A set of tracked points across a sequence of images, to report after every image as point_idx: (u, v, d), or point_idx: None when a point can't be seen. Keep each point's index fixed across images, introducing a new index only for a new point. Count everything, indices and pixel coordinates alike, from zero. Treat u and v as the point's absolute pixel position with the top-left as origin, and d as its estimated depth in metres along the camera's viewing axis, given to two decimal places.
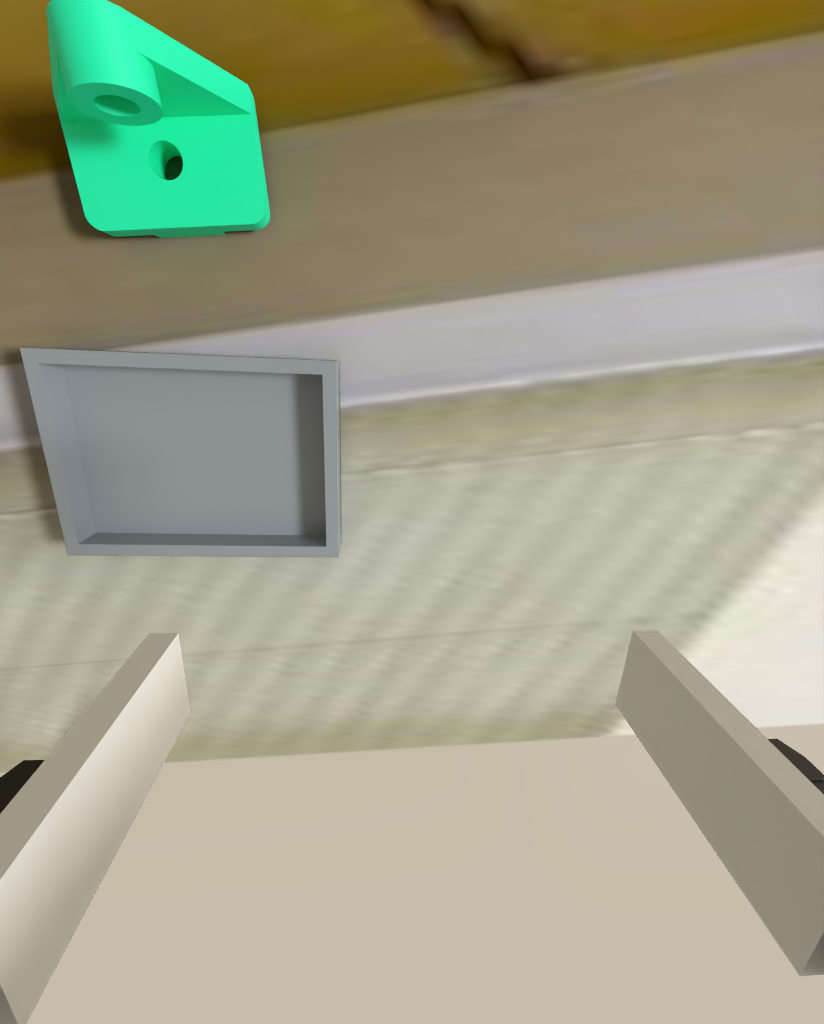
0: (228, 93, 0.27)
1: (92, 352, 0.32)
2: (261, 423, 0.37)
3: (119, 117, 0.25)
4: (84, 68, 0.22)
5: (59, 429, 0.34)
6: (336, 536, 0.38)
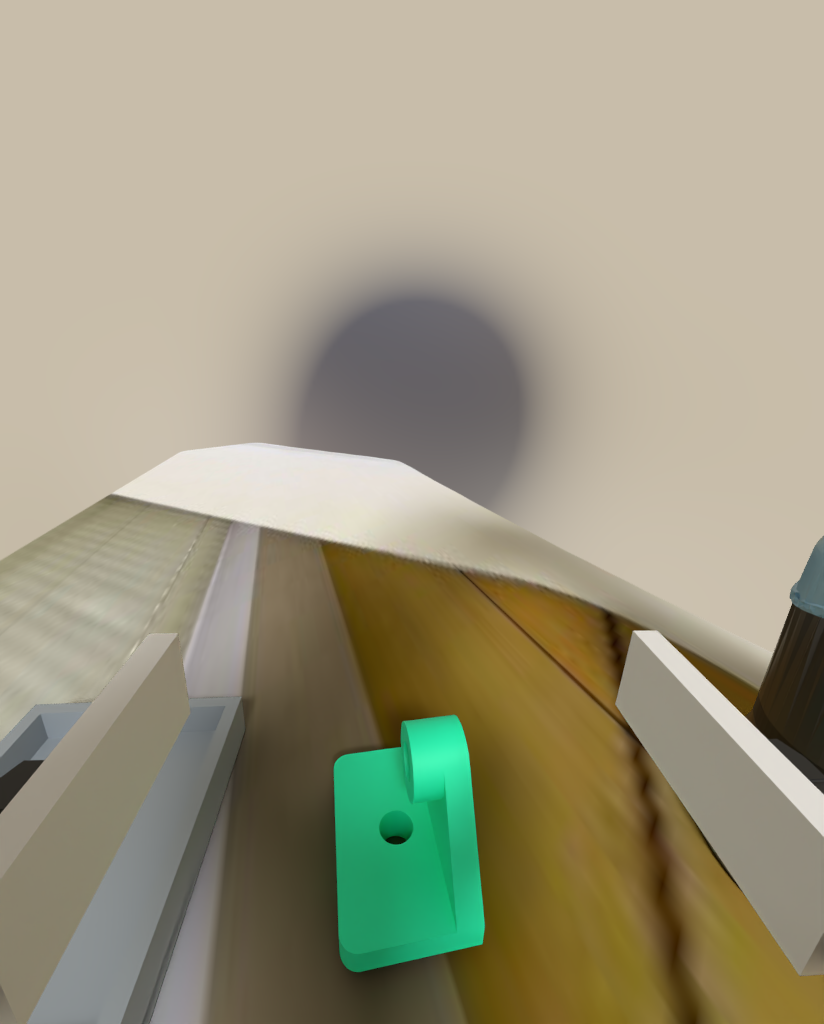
0: (461, 892, 0.24)
1: (222, 744, 0.33)
2: (61, 960, 0.23)
3: (404, 768, 0.28)
4: (416, 728, 0.26)
5: None
6: None
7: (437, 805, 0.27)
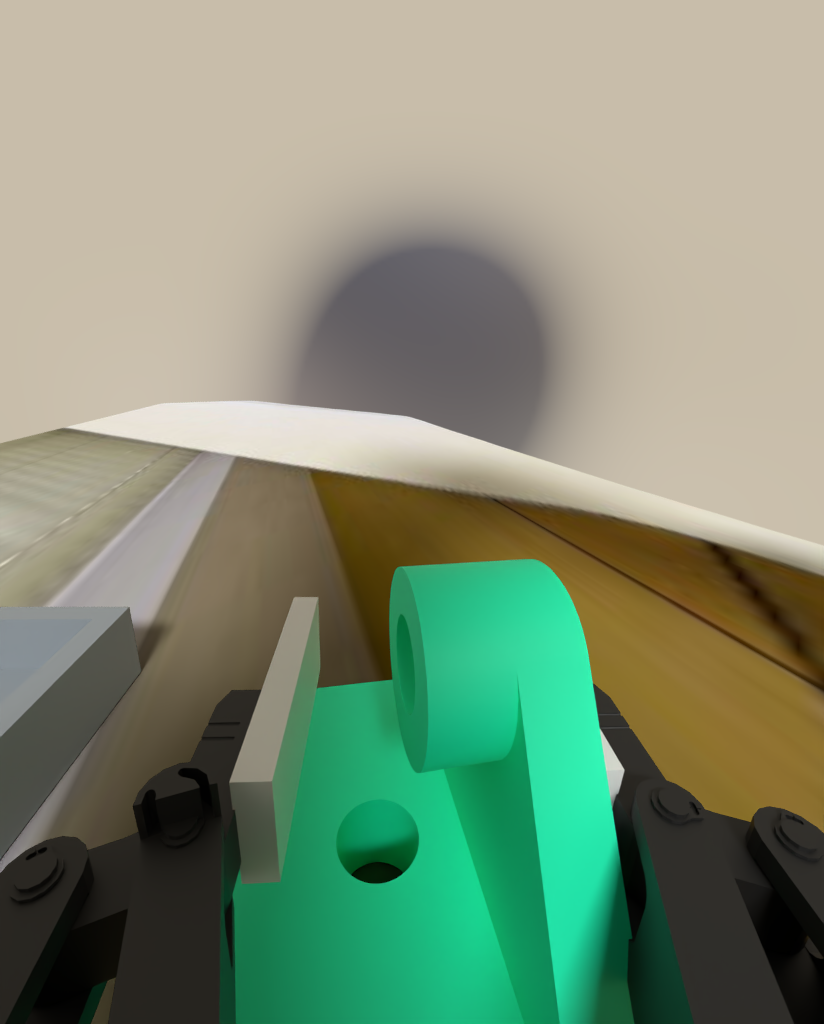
0: None
1: (53, 680, 0.16)
2: None
3: (398, 689, 0.11)
4: (430, 570, 0.10)
5: None
6: None
7: (484, 780, 0.10)
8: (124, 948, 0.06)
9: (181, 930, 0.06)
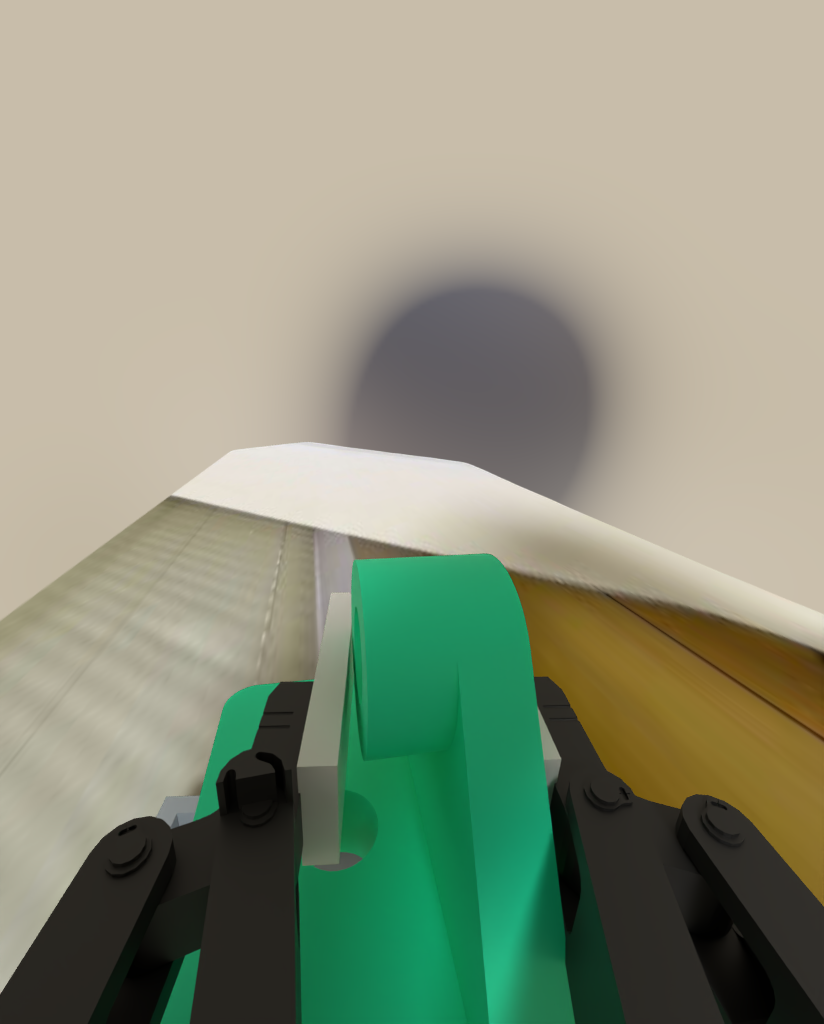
0: None
1: None
2: None
3: (356, 681, 0.11)
4: (382, 563, 0.10)
5: None
6: None
7: (436, 770, 0.10)
8: (208, 916, 0.06)
9: (258, 906, 0.06)
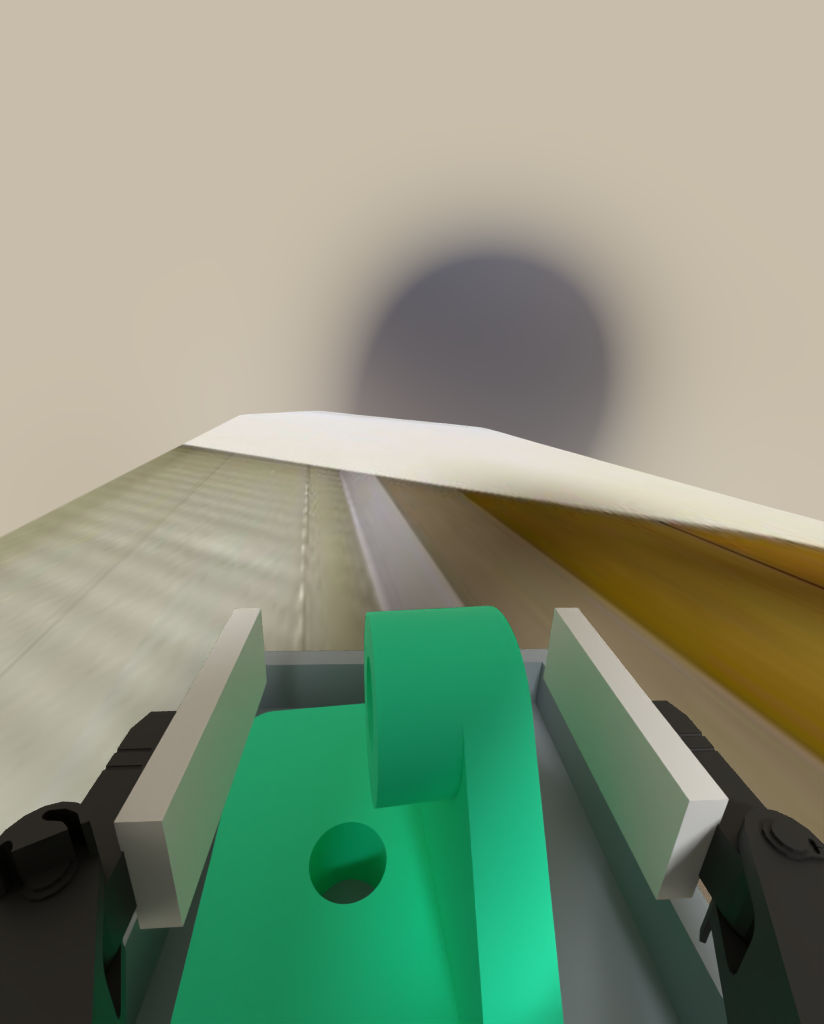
0: None
1: None
2: None
3: (367, 724, 0.12)
4: (393, 619, 0.11)
5: None
6: None
7: (442, 814, 0.11)
8: None
9: (45, 991, 0.05)
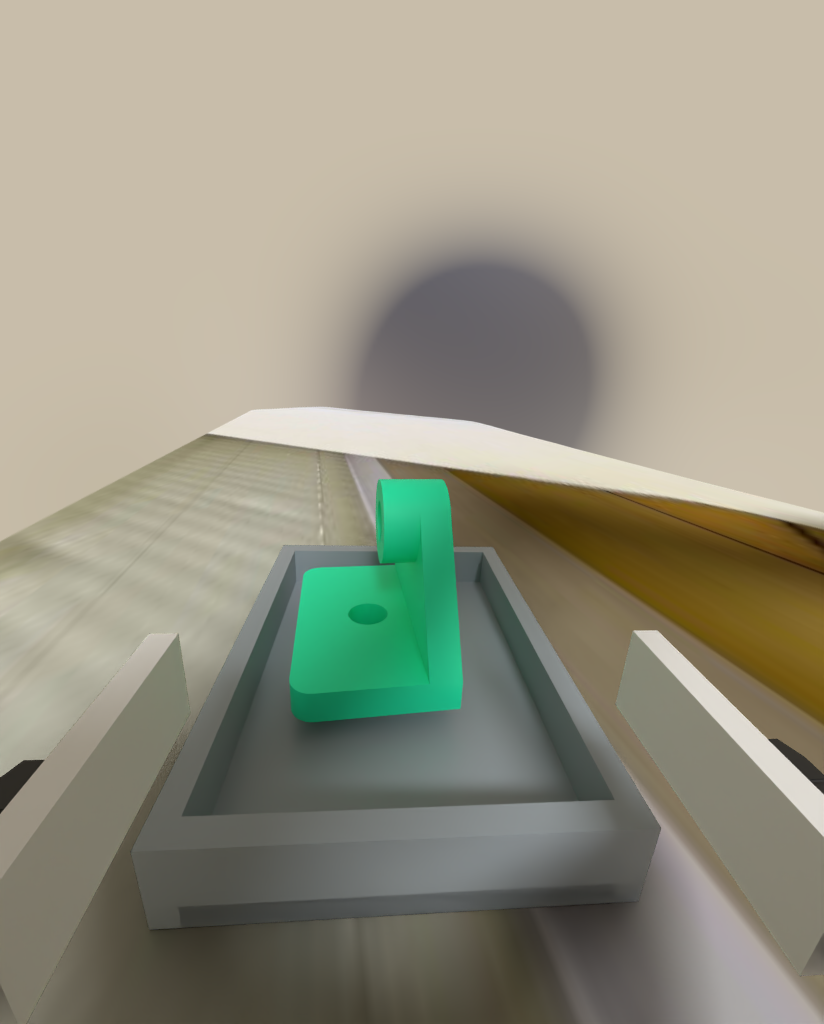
0: (436, 642, 0.20)
1: (508, 575, 0.30)
2: (459, 733, 0.20)
3: (377, 538, 0.24)
4: (390, 479, 0.23)
5: None
6: (202, 843, 0.13)
7: (413, 574, 0.23)
8: None
9: None
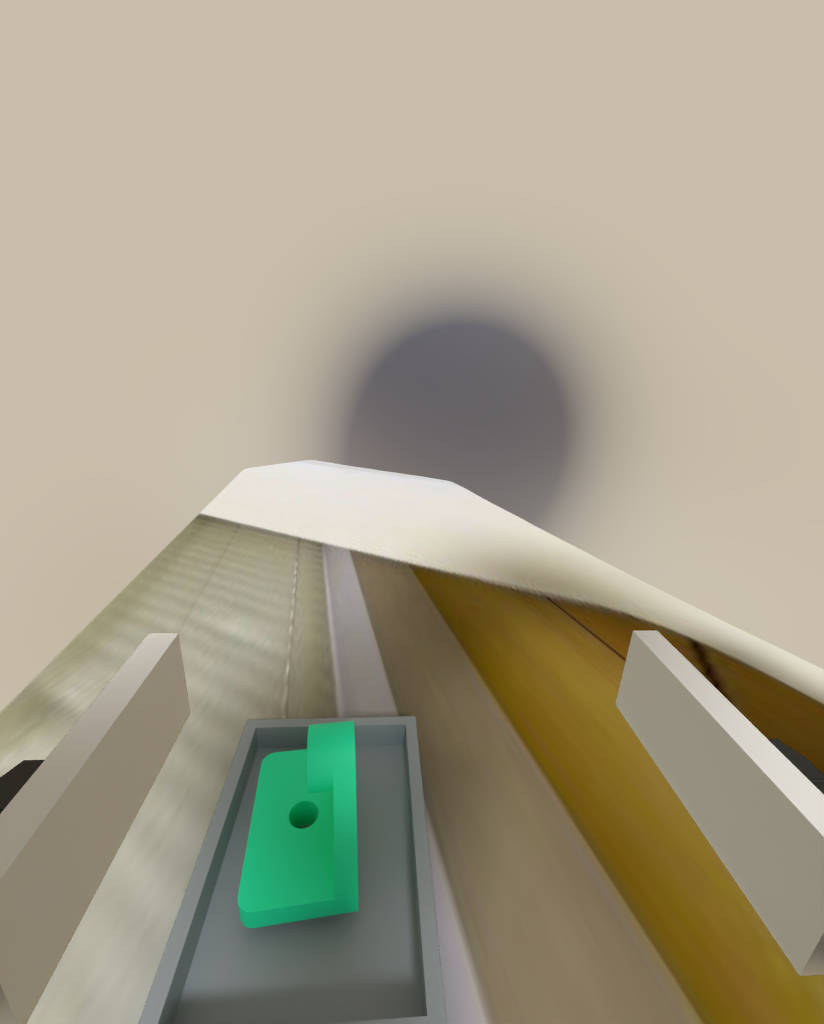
0: (340, 866, 0.29)
1: (418, 758, 0.39)
2: (354, 929, 0.29)
3: None
4: (315, 731, 0.32)
5: (355, 731, 0.42)
6: None
7: None
8: None
9: None
